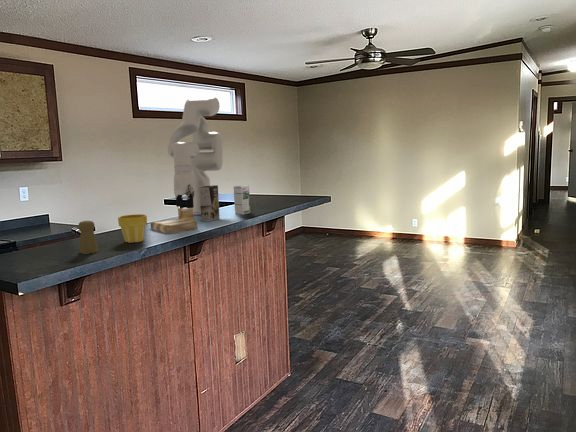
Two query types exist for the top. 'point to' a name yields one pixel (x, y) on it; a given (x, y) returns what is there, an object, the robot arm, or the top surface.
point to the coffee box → (209, 203)
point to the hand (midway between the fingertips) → (184, 207)
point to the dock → (174, 225)
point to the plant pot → (133, 227)
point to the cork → (87, 237)
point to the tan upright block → (186, 213)
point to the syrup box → (242, 199)
